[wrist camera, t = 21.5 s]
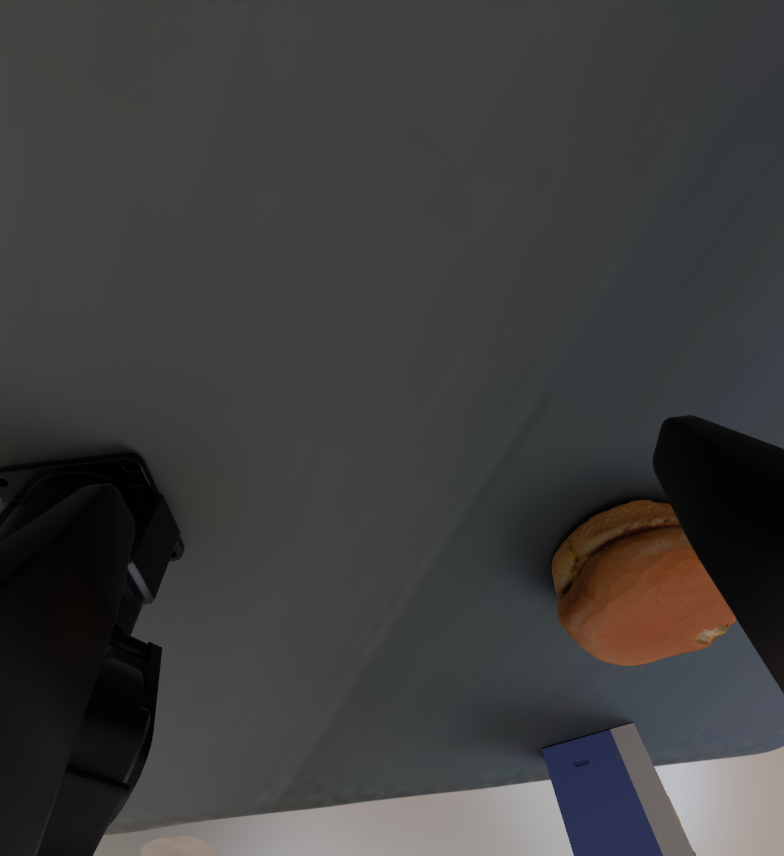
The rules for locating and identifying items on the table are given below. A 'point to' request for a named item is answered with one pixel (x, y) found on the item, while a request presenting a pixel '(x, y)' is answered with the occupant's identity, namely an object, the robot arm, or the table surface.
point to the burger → (636, 587)
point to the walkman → (614, 797)
